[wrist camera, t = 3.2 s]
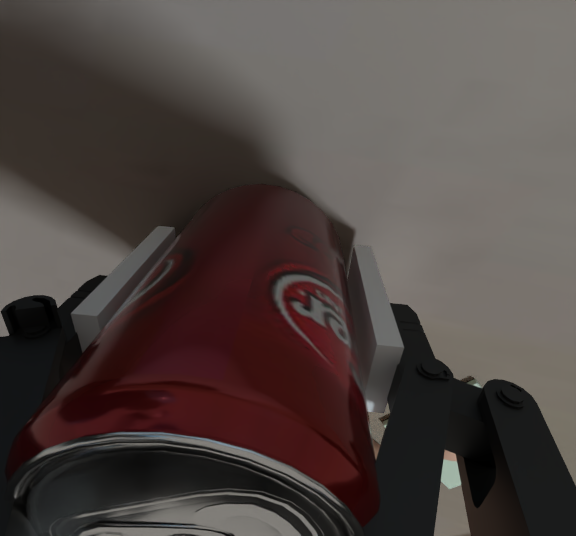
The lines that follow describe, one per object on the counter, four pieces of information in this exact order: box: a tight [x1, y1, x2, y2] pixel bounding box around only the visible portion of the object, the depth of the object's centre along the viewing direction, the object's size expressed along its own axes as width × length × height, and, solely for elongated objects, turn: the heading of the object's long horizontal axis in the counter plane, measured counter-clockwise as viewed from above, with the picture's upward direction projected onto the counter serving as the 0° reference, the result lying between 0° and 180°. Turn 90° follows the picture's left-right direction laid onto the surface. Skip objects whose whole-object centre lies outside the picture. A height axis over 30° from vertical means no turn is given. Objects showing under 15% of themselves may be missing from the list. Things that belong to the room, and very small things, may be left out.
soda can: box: [4, 184, 381, 536], centre depth 12 cm, size 7×7×12 cm
